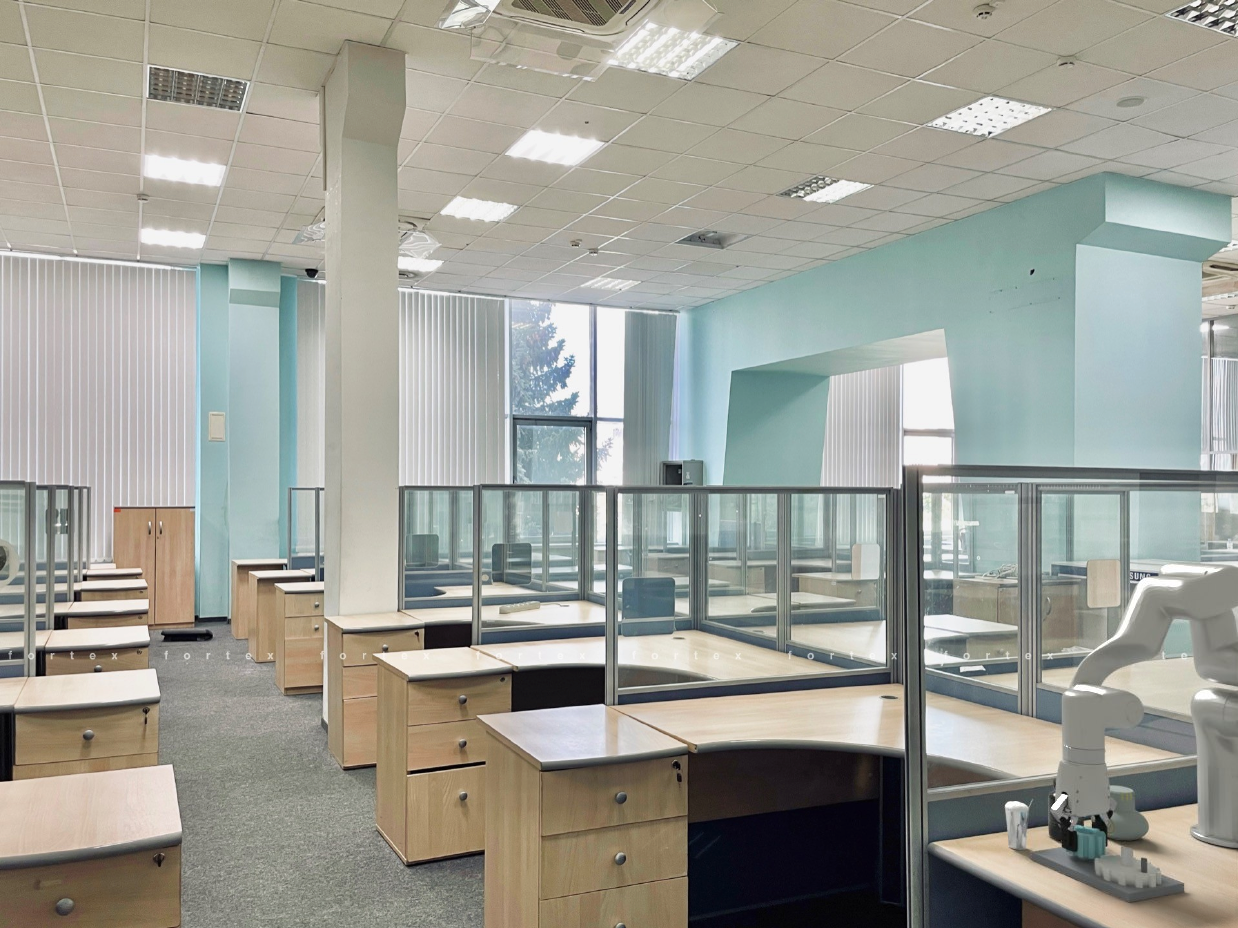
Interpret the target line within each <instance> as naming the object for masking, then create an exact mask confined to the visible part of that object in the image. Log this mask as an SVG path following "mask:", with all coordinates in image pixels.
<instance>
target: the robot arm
mask: <svg viewBox="0 0 1238 928" xmlns="http://www.w3.org/2000/svg"><path fill="white" fill-rule="evenodd" d="M1237 607H1238V566H1235V565H1231V564H1221V563H1219V564H1218V563H1201V562H1192V561H1191V562H1188V561H1175V562H1169V563H1167V564H1163V566H1161V567H1160V569H1159V570H1158V575H1157V576H1156V575H1154V576H1153V575H1152V576H1151V575H1150V576H1146V577H1144V578H1142V579H1140V580H1139V581H1138V583H1136V585H1135V587H1134V589H1133V591H1132V593H1131V596H1130V599H1129V601H1128V603H1127V605H1126V608H1125V610H1124V613H1123V614H1122V617H1121V620H1120V621H1119V624H1118V626H1117V629H1116V630H1115V634H1113V636H1112V637H1110V638H1109V639H1108V640H1106V641H1104V642H1103V643H1101V644H1100V645H1099V646H1098V647H1096V648H1095V649H1094V650H1092V651H1091V652H1090V653H1089V654H1088V655H1087V656H1085V657H1084V659H1083V660H1082V661H1081V662H1080V663H1079V664H1078V666H1077V668H1076V671H1075V672H1074V675H1073V676H1072V679H1071V681H1070V685H1069V687H1068V689H1067V690H1066V691H1064V692H1062V693H1063V694H1062V696H1061V739H1062V741H1061V742H1062V743H1061V748H1062V749H1061V753H1062V755H1061V757H1062V760H1059V763H1058V768H1057V771H1056V772H1057V773H1056V778H1057V779H1056V793H1055V804H1054V805H1053V806H1052V808H1051V809H1050V811H1051V813H1052V814H1053V816H1054V817H1055V820H1056V821H1057V822H1058V825H1059V827H1061V842H1060V843H1061V847H1063V848H1064V849H1067V850H1069V851H1072V852H1077V831H1075V830H1074V829H1075V826H1076V823H1077V821H1078V818H1079V817H1084V818H1086V817H1091V816H1092V817H1093V819H1094V821H1095V822H1091V828H1094V829H1095V828H1097V829H1099V830H1100V831H1103V832H1105V835H1106V848H1107V847H1108V846H1109V845H1108V843H1109V841H1108V839H1109V838H1108V829H1107V826H1109V825H1110V818H1111V817H1112V815H1113V811H1114V809H1115V807H1116V805H1117V802H1116V801H1115V800H1114V799H1113V798H1112V797H1111V796H1110V786H1111V784H1110V778H1109V770H1108V766H1107V763H1106V741H1105V740H1106V736H1105V733H1106V732H1105V731H1106V729H1117V730H1127V729H1129V730H1130V729H1133V728H1135V727H1136V726H1138V725H1139V724H1140V723H1141V721H1142V720H1143V719H1144V715H1145V708H1144V707H1145V706H1144V704H1143V702H1142V700H1141V699H1140V698H1139V697H1138V696H1137V695H1135V694H1134V693H1132V692H1131V691H1128V690H1124V689H1120V688H1114V687H1110V686H1105V685H1103V683H1104V682H1105V680H1106V679H1107V678H1108V677H1109V676H1111V675H1112V674H1113V673H1114V672H1116V671H1118V670H1120V669H1122V668H1125V667H1127V666H1131V665H1134V664H1138V663H1142V662H1145V661H1148V660H1151V659H1154V658H1155V657H1157V656H1158V655H1159V654H1160V652H1161V650H1162V646H1163V645H1164V642H1165V640H1166V637H1167V635H1168V632H1169V630H1170V628H1171V625H1172V623H1173V622H1174V620H1183V621H1184V620H1185V621H1188V622H1189V627H1190V628H1189V629H1190V630H1189V631H1190V635H1191V636H1190V638H1191V647H1192V648H1191V649H1192V656H1193V657H1192V658H1193V665H1194V668H1195V671H1196V674H1197V675H1198V676H1199V677H1200V678H1201V679H1203V680H1205V681H1207V682H1211V683H1215V684H1221V685H1226V686H1231V687H1237V688H1238V628H1237V620H1236V616H1235V613H1234V611H1233V609H1234V608H1237ZM1190 714H1191V719H1192V723H1193V728H1194V734H1195V741H1196V777H1197V778H1196V779H1197V824H1196V823H1195V824H1193V825H1190V828H1189V833H1190V835H1191V836H1193V838H1195V839H1197V840H1199V841H1202V842H1204V843H1209V844H1212V845H1216V846H1220V847H1225V848H1233V849H1238V690H1234V689H1230V688H1223V687H1222V688H1221V687H1216V686H1214V687H1212V686H1211V687H1204V688H1201V689H1199V690H1197V691H1196V692H1195V693H1194V694H1193V696H1192V697H1191V700H1190ZM1070 811H1071V813H1070ZM1062 812H1063V813H1062ZM1068 816H1070V817H1071V819H1070V822H1069V821H1068V820H1067V819H1068Z"/></svg>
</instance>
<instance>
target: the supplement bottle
mask: <svg viewBox="0 0 1238 928" xmlns="http://www.w3.org/2000/svg"><path fill="white" fill-rule="evenodd" d="M1056 779H1057V777H1054V778H1053V780H1052V782H1053V783H1052V784H1053V785H1052V789H1053V790H1052V791H1050V792H1049V793H1048V797H1047V806H1048V807H1047V808H1048V809H1047V820H1048V821H1047V822H1048V825H1047V826H1048V829H1047V830H1048V835H1049V837H1050V838H1051V839H1053V840H1054V841H1057V842H1060V843H1061V827H1059V825H1058V822H1057V821H1056V820H1055V817H1054V816H1053V814H1052V813H1051V811H1050V809H1051V808H1052V806H1053V805H1054V804H1055V793H1056ZM1062 813H1063V812H1062ZM1070 813H1071V811H1070ZM1070 819H1071V817H1070V816H1068V819H1067V820H1068V821H1069V822H1070ZM1076 825H1081V826H1084V827H1085V817H1079V818H1078V821H1077V823H1076Z"/></svg>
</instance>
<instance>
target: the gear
mask: <svg viewBox="0 0 1238 928" xmlns="http://www.w3.org/2000/svg"><path fill="white" fill-rule="evenodd" d="M1074 830H1075V831H1077V852H1072V851H1069V850H1067V849H1065V851H1066V852H1069V854H1072V855H1078V857H1082V858H1084V857H1088V858H1089V859H1094V858H1099V859H1100V856H1102V855H1106V853H1107V847H1106V835H1105V832H1103V831H1100V830H1099V829H1097V828H1095V829H1094V828H1092V826H1090V825H1088V826H1087V825H1084V826H1081V825H1076V826H1075V829H1074Z"/></svg>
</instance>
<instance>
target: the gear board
mask: <svg viewBox="0 0 1238 928" xmlns="http://www.w3.org/2000/svg"><path fill="white" fill-rule="evenodd" d="M1030 856H1031V857H1030V860H1032V861H1034V862H1035V863H1038V864H1040V865H1042V866H1045V867H1047V868H1050V869H1052V870H1054V871H1057V872H1058V873H1060V874H1063V875H1065V876H1067V877H1070V878H1072V879H1075V880H1077V881H1079V882H1081V883H1084V884H1086V885H1088V886H1090V887H1093V888H1095V889H1098V890H1099V891H1102V892H1104V893H1106V894H1108V895H1111V896H1114V897H1116V898H1118V899H1120V900H1122V901H1125V902H1127V903H1132V902H1139V901H1144V900H1148V899H1153V898H1160V897H1164V896H1169V895H1175V894H1179V893H1184V892H1185V882H1182V881H1179V880H1178V879H1174V878H1173V877H1170V876H1167V875H1164V874H1162V871H1161V869H1160V867H1159V866H1158V865H1153V864H1152V863H1151V862H1150V861H1148V858H1147V857H1140V859H1137V858H1136V857H1134V849H1133V848H1132V847H1128V846H1121V847H1120V855H1119V854H1111V853H1108V852H1106V855H1102V856H1100V859H1099V858H1094V859H1089V858H1088V857H1084V858H1082V857H1078V855H1072V854H1069V852H1066V851H1065V849H1064V848H1063V847H1062V846H1058V847H1052V848H1047V849H1040V850H1034V851H1031V852H1030Z"/></svg>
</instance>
